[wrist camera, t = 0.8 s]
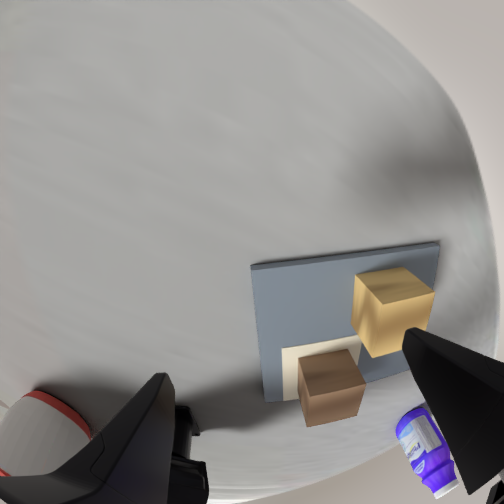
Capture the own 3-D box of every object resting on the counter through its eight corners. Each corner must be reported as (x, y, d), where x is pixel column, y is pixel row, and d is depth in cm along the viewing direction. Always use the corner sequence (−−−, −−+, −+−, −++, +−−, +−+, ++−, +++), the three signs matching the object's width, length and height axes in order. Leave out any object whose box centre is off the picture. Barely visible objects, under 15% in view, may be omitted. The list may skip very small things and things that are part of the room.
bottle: (401, 411, 32) (443, 493, 16) (428, 400, 32) (472, 474, 16) (389, 434, 35) (422, 507, 18) (415, 423, 35) (450, 491, 18)
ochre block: (395, 313, 23) (421, 343, 19) (350, 323, 23) (372, 358, 18) (403, 266, 22) (435, 292, 17) (355, 274, 21) (382, 304, 17)
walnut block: (342, 381, 26) (356, 415, 21) (297, 390, 26) (306, 427, 21) (347, 348, 24) (366, 383, 19) (298, 357, 24) (309, 396, 19)
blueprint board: (406, 364, 28) (410, 369, 27) (264, 396, 27) (265, 403, 26) (433, 242, 22) (440, 246, 21) (250, 265, 22) (251, 271, 21)
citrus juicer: (110, 454, 33) (90, 541, 14) (29, 412, 29) (-6, 488, 10) (115, 417, 28) (83, 538, 9) (14, 362, 25) (-43, 456, 6)
